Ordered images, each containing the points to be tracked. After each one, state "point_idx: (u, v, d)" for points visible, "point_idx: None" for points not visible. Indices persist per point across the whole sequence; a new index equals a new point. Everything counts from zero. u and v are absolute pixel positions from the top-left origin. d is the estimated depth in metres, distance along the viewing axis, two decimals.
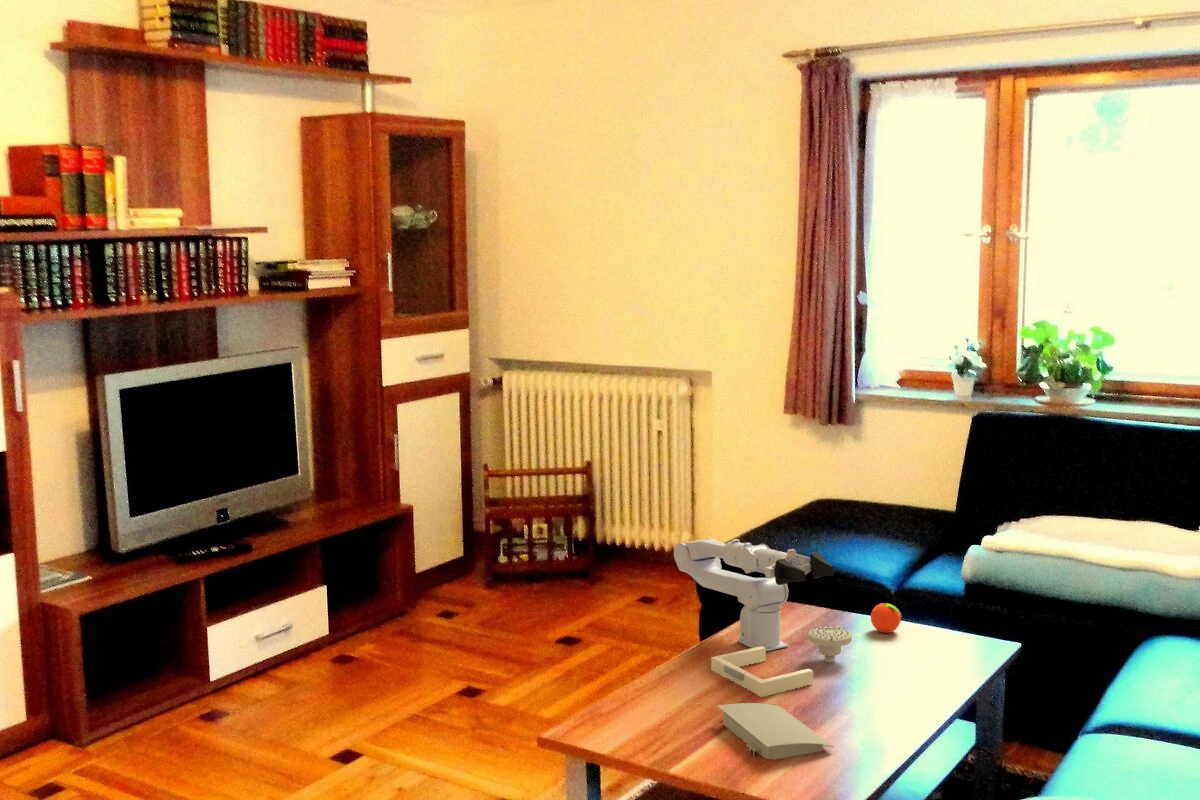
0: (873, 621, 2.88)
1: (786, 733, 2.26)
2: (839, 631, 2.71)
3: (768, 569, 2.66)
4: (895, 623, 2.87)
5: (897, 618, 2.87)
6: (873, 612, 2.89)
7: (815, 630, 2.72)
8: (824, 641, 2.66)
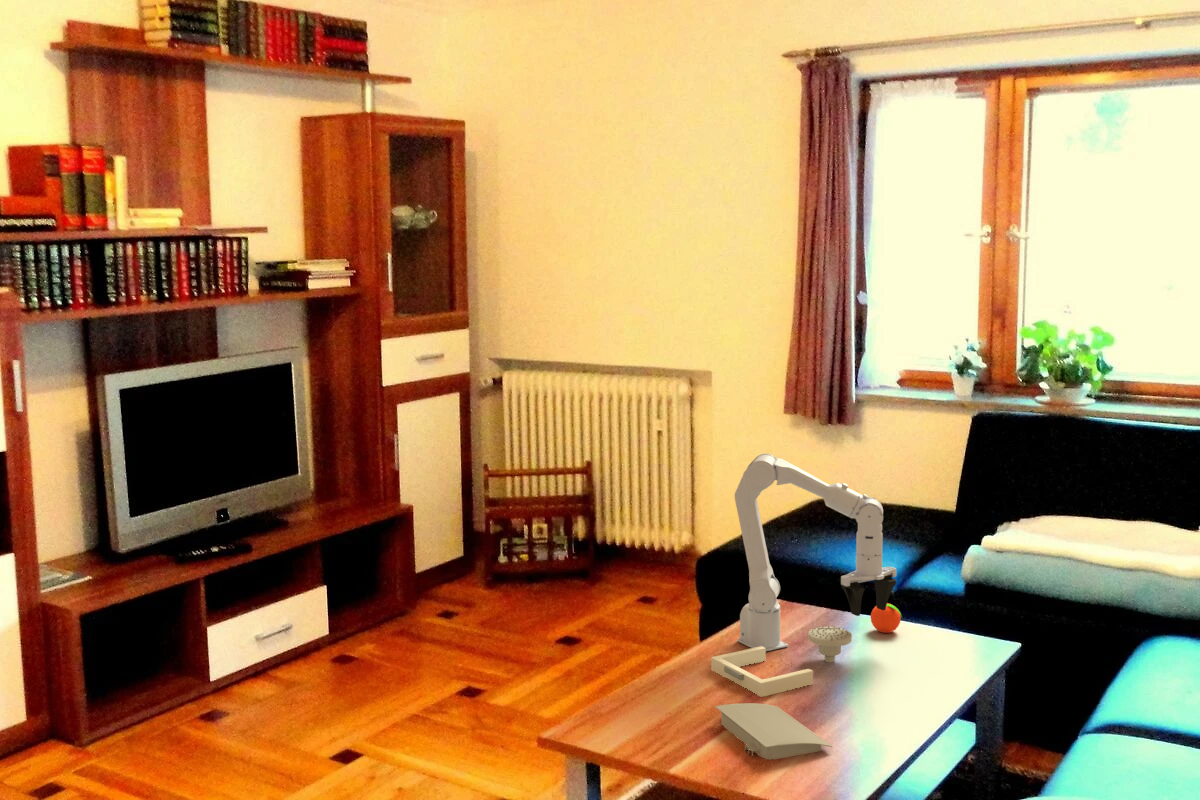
0: (873, 621, 2.88)
1: (784, 733, 2.26)
2: (839, 631, 2.71)
3: (846, 583, 2.70)
4: (895, 623, 2.87)
5: (897, 618, 2.87)
6: (873, 612, 2.89)
7: (815, 630, 2.72)
8: (824, 641, 2.66)
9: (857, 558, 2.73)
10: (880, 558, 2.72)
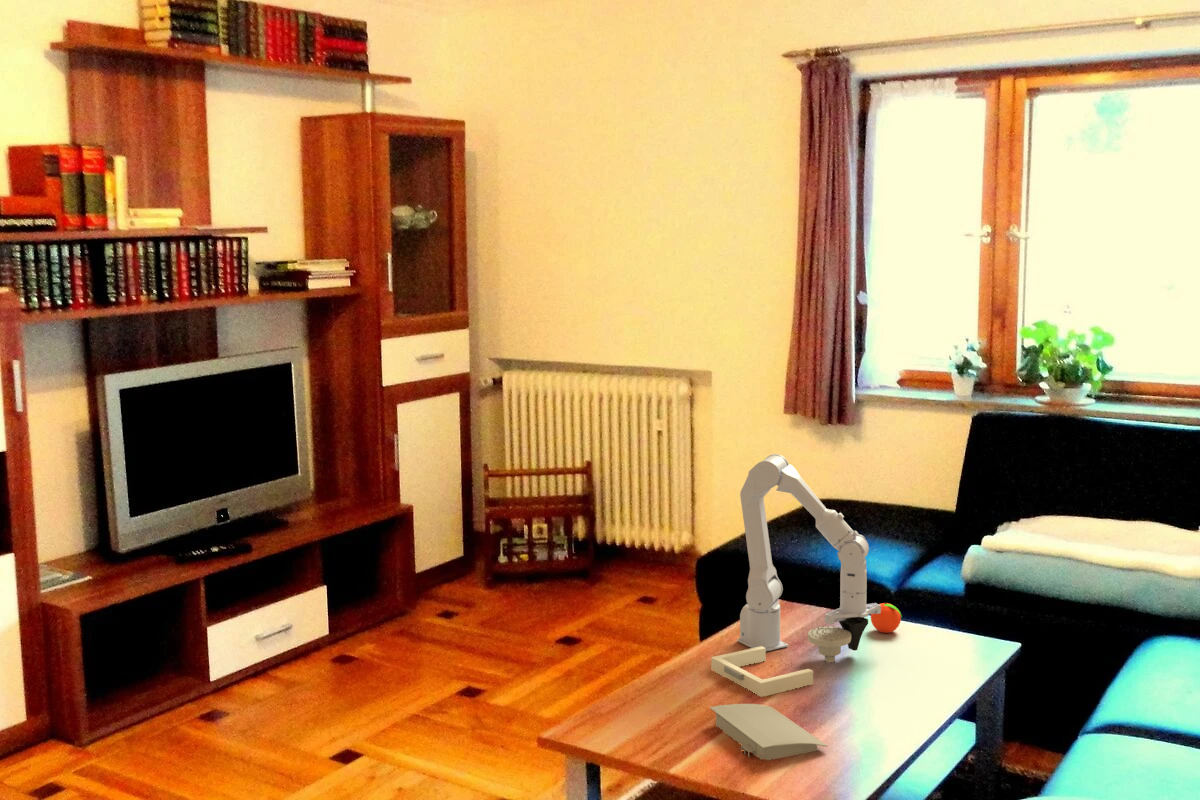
0: (873, 621, 2.88)
1: (780, 734, 2.25)
2: (839, 631, 2.71)
3: (830, 621, 2.69)
4: (895, 623, 2.87)
5: (897, 618, 2.87)
6: None
7: (815, 630, 2.72)
8: (823, 642, 2.66)
9: (841, 595, 2.72)
10: (864, 595, 2.70)
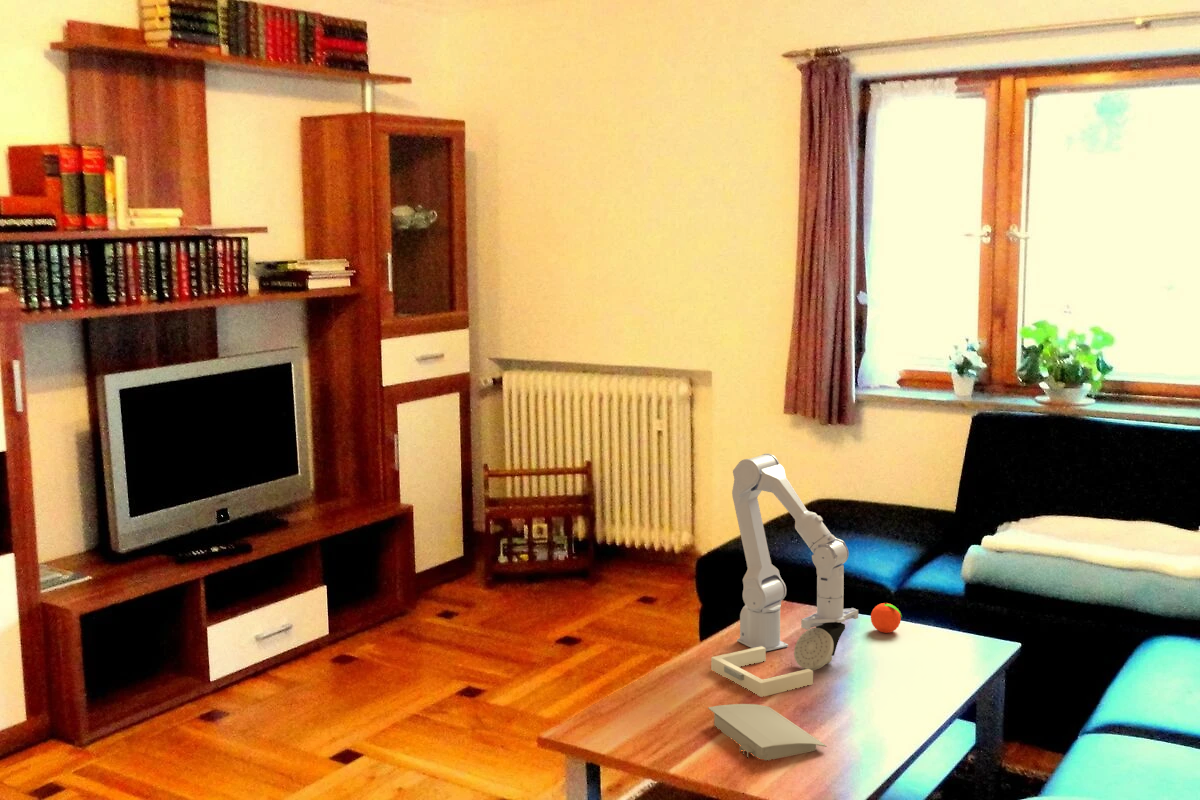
0: (873, 621, 2.88)
1: (779, 734, 2.25)
2: (819, 642, 2.66)
3: (806, 626, 2.66)
4: (895, 623, 2.87)
5: (897, 618, 2.87)
6: (873, 612, 2.89)
7: (799, 647, 2.69)
8: (808, 668, 2.65)
9: (818, 600, 2.68)
10: (841, 600, 2.67)
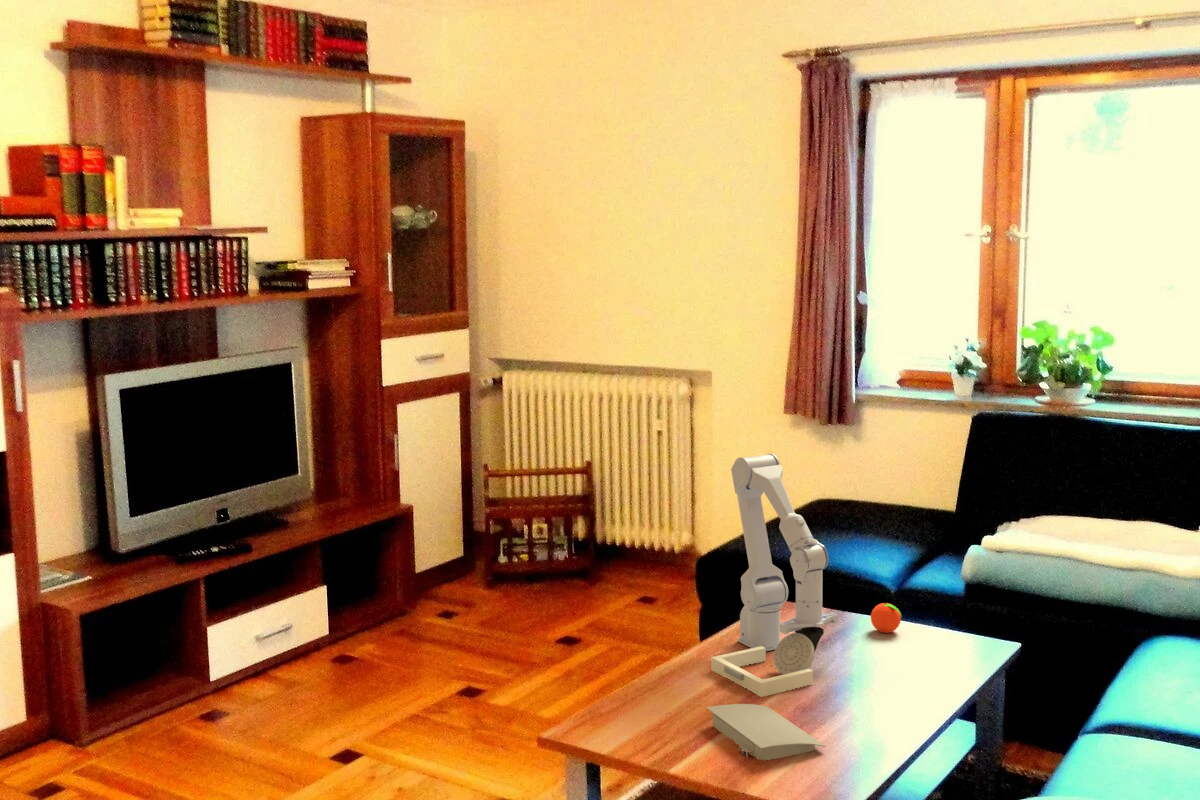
0: (873, 621, 2.88)
1: (778, 734, 2.25)
2: (799, 647, 2.63)
3: (784, 631, 2.63)
4: (895, 623, 2.87)
5: (897, 618, 2.87)
6: (873, 612, 2.89)
7: (778, 653, 2.65)
8: None
9: (796, 604, 2.66)
10: (820, 605, 2.64)
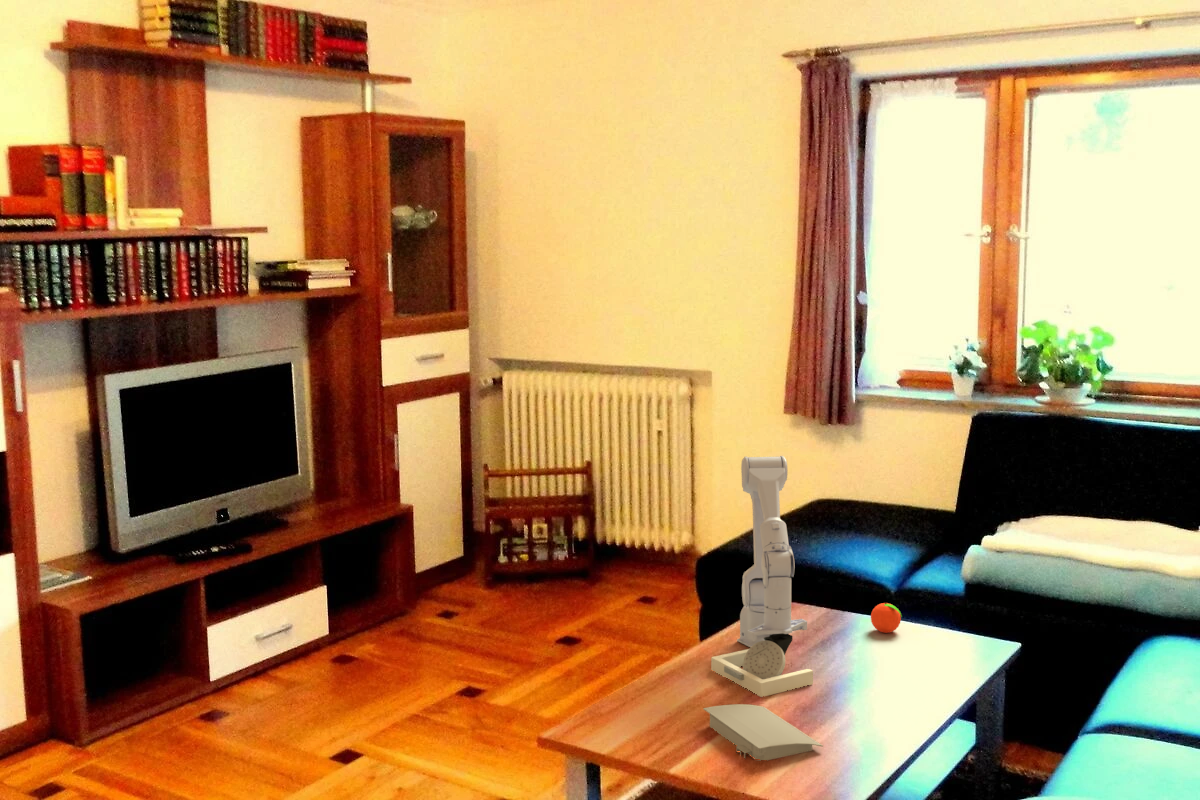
0: (873, 621, 2.88)
1: (775, 734, 2.25)
2: (769, 654, 2.58)
3: (752, 638, 2.59)
4: (895, 623, 2.87)
5: (897, 618, 2.87)
6: (873, 612, 2.89)
7: (748, 663, 2.60)
8: None
9: (765, 611, 2.62)
10: (788, 611, 2.60)
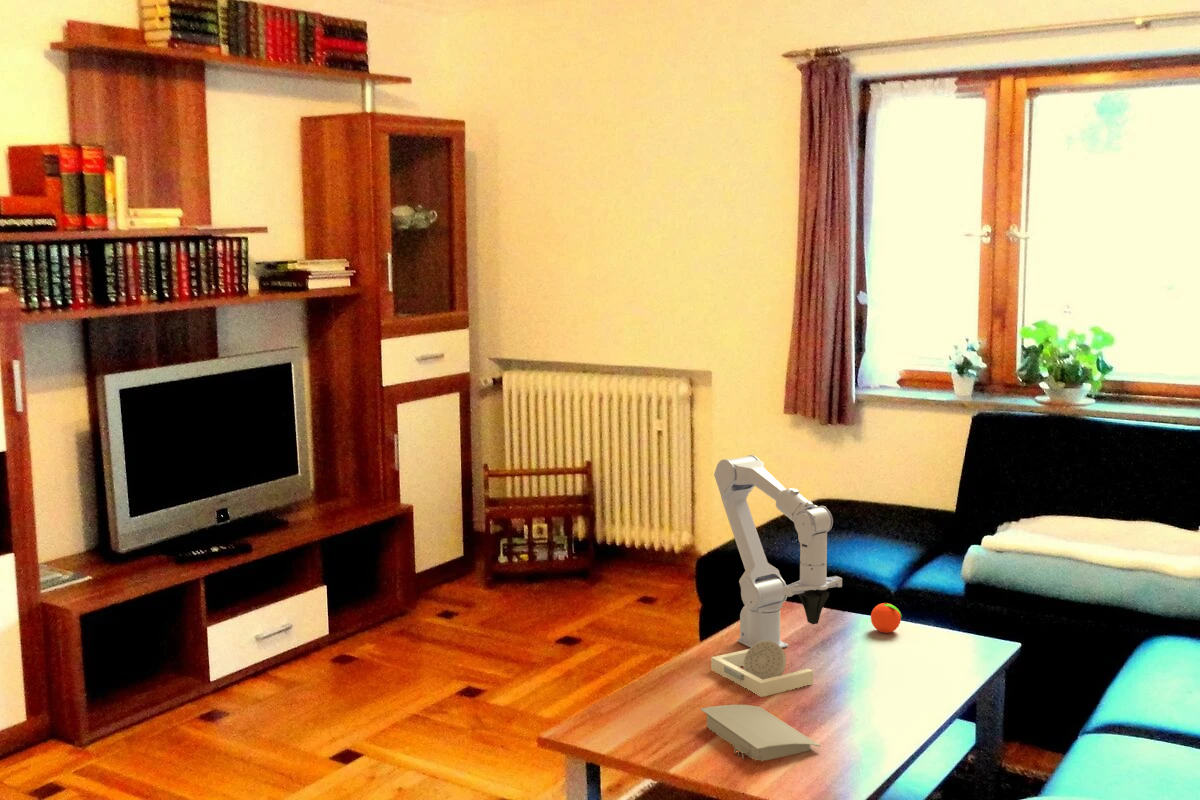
0: (873, 621, 2.88)
1: (773, 734, 2.25)
2: (770, 654, 2.58)
3: (788, 593, 2.63)
4: (895, 623, 2.87)
5: (898, 618, 2.87)
6: (873, 612, 2.89)
7: (748, 662, 2.60)
8: None
9: (801, 567, 2.66)
10: (824, 568, 2.65)
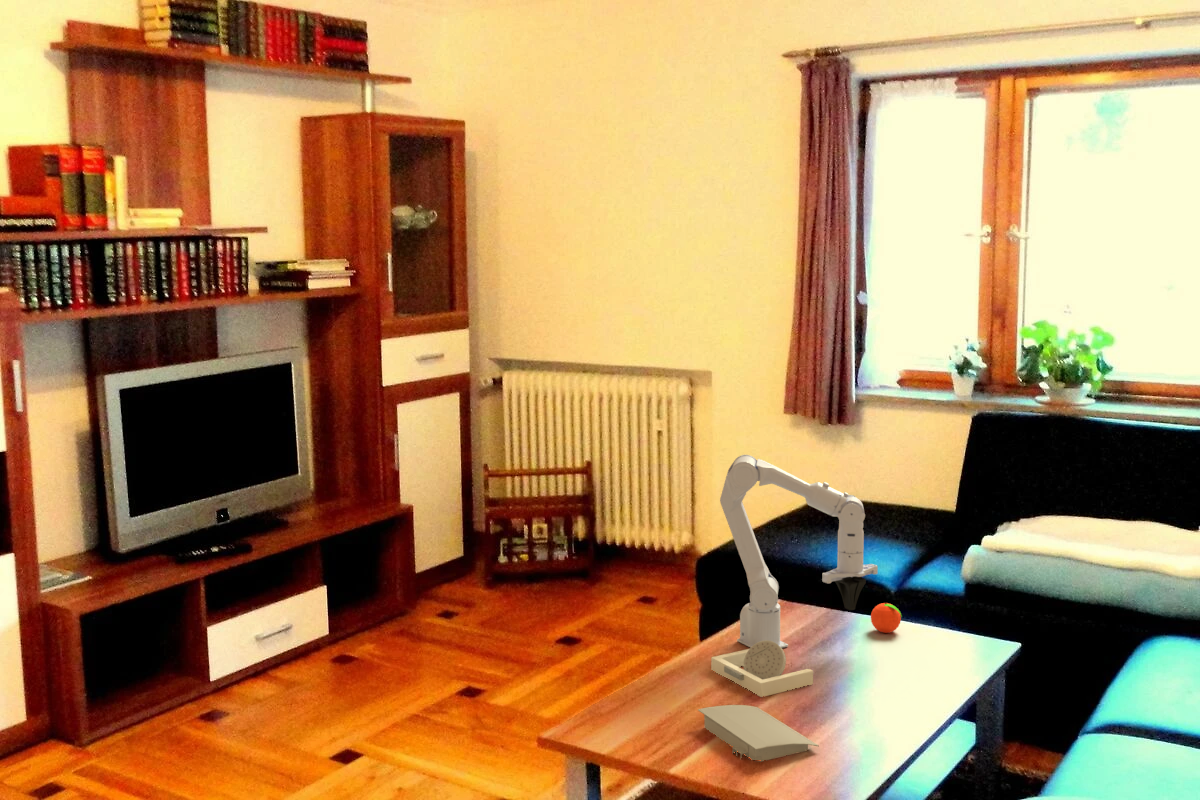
0: (873, 621, 2.88)
1: (771, 734, 2.25)
2: (770, 654, 2.58)
3: (827, 580, 2.72)
4: (895, 623, 2.87)
5: (898, 618, 2.87)
6: (873, 612, 2.89)
7: (748, 662, 2.60)
8: None
9: (838, 555, 2.75)
10: (861, 555, 2.74)
